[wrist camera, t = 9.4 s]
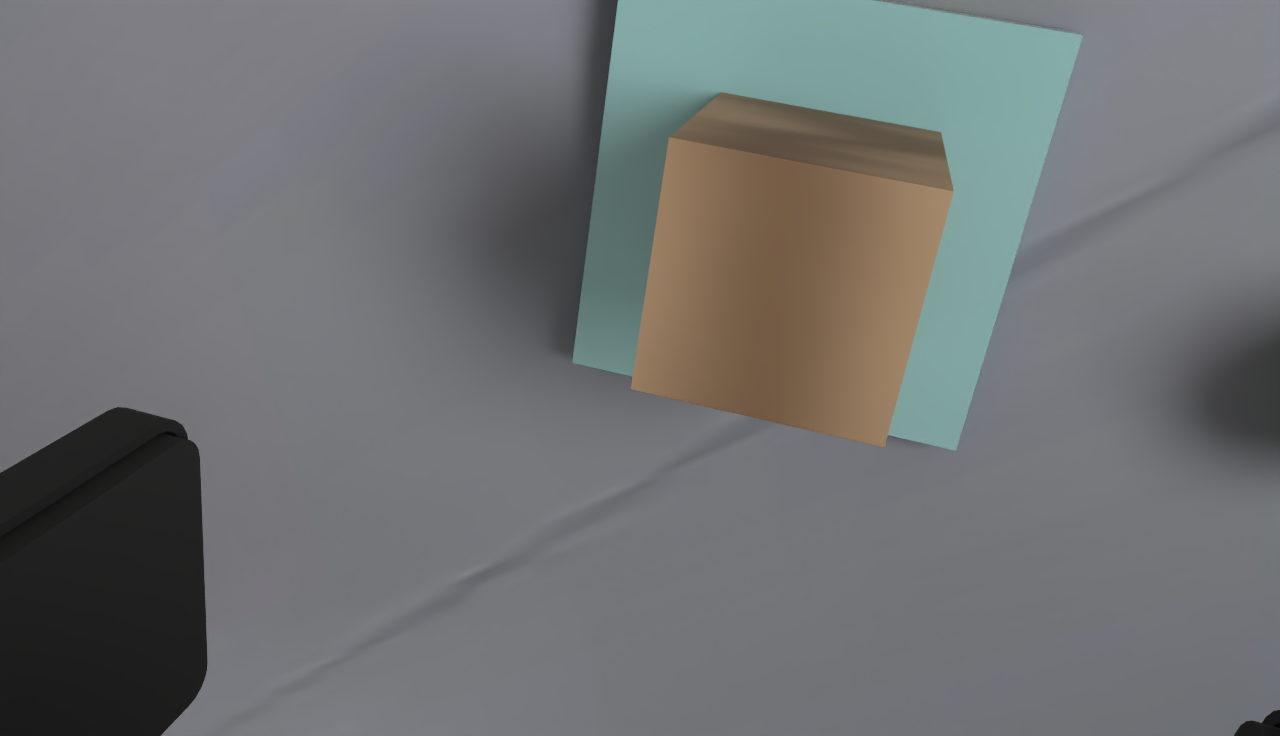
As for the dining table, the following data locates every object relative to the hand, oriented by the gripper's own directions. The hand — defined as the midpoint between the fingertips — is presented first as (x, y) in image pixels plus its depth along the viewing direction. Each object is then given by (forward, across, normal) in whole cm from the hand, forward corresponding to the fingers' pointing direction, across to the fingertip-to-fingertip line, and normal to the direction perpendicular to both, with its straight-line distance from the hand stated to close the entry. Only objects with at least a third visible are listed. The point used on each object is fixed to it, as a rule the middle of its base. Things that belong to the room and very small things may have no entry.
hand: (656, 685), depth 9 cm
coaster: (+18, 0, 0) cm, 18 cm away
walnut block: (+17, 0, 0) cm, 17 cm away
